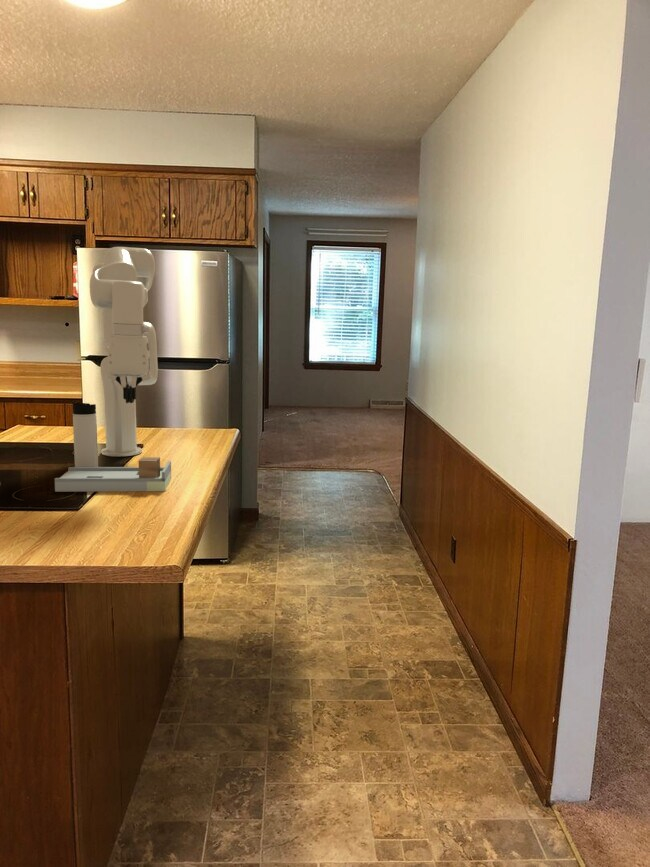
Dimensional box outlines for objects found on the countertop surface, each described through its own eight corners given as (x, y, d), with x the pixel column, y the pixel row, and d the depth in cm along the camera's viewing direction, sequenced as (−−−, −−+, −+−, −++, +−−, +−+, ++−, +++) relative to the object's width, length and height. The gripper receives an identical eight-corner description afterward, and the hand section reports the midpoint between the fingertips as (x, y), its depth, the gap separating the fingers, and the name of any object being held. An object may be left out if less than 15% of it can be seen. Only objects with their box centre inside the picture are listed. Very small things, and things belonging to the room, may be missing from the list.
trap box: (69, 478, 172) (68, 460, 171) (171, 478, 175) (171, 461, 175) (55, 491, 160) (54, 472, 159) (165, 491, 163) (164, 472, 162)
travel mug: (69, 471, 180) (66, 401, 177) (87, 467, 186) (84, 399, 183) (84, 474, 178) (82, 403, 174) (103, 470, 183) (100, 401, 180)
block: (143, 475, 168) (142, 456, 167) (160, 475, 168) (160, 457, 167) (138, 479, 164) (138, 460, 163) (156, 479, 164) (156, 460, 163)
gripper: (160, 331, 166) (161, 400, 170) (101, 329, 164) (103, 399, 168) (156, 332, 159) (157, 405, 162) (94, 330, 157) (96, 404, 161)
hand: (129, 402), depth 165 cm, fingers closed
